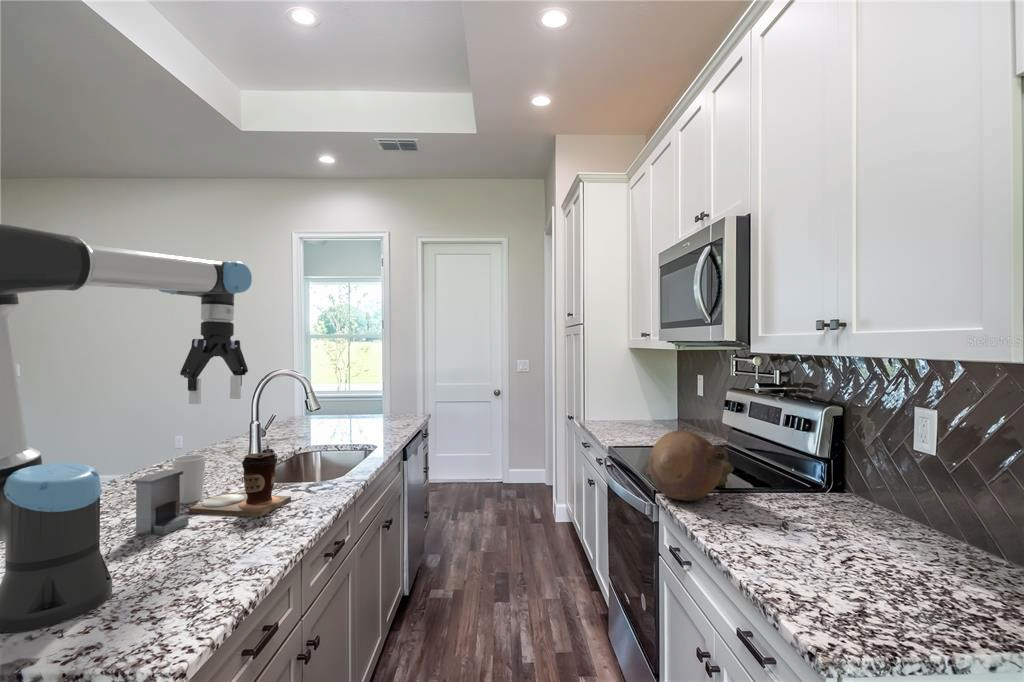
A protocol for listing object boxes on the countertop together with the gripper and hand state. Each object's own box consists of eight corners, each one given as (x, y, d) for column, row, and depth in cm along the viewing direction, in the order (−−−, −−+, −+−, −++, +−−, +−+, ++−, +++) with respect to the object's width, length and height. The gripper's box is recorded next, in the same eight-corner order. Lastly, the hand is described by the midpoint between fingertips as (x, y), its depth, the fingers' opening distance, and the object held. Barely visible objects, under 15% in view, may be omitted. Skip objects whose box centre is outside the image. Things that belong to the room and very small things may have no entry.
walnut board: (260, 516, 123) (260, 511, 123) (188, 512, 126) (188, 507, 126) (291, 500, 136) (291, 495, 136) (224, 497, 139) (224, 491, 139)
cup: (211, 498, 138) (211, 456, 138) (180, 506, 132) (180, 462, 132) (197, 493, 143) (197, 453, 143) (167, 501, 136) (167, 458, 136)
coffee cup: (261, 508, 125) (261, 458, 125) (233, 506, 127) (233, 457, 127) (283, 498, 134) (283, 451, 134) (257, 496, 135) (257, 450, 135)
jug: (680, 515, 124) (745, 513, 140) (701, 443, 123) (765, 450, 139) (625, 480, 142) (689, 482, 157) (643, 417, 140) (706, 425, 156)
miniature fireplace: (160, 536, 111) (160, 481, 111) (132, 534, 112) (132, 480, 112) (191, 522, 120) (191, 471, 120) (165, 520, 121) (165, 470, 121)
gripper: (190, 318, 114) (188, 406, 114) (262, 324, 139) (261, 397, 139) (163, 318, 116) (161, 406, 115) (239, 324, 140) (238, 396, 140)
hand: (216, 401), depth 127 cm, fingers open, 13 cm apart
